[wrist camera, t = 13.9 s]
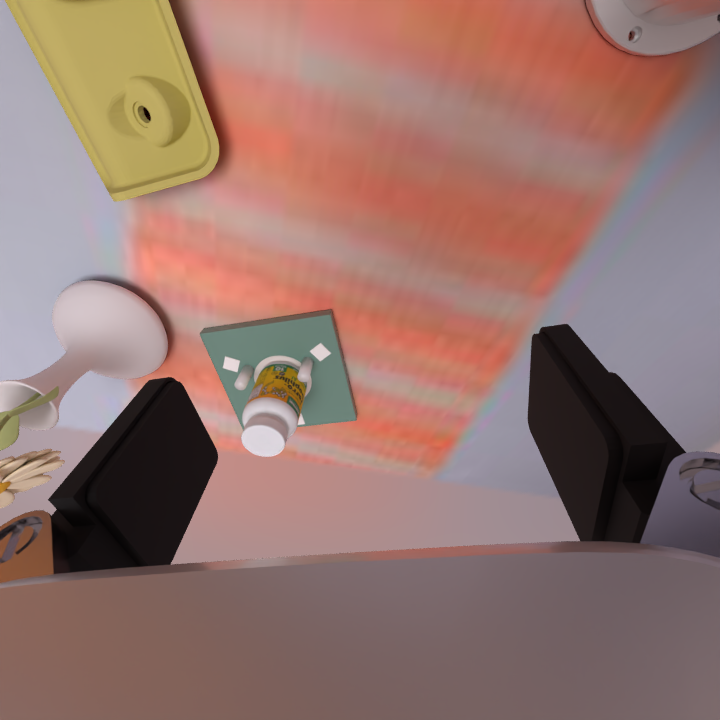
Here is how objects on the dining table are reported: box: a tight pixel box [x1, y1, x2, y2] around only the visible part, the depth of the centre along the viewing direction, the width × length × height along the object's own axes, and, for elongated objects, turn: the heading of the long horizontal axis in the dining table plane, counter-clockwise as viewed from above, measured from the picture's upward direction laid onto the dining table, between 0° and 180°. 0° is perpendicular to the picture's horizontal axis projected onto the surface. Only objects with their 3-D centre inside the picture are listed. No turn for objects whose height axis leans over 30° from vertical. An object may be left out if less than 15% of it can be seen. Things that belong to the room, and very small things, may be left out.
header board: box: [200, 309, 357, 430], centre depth 43 cm, size 14×14×4 cm
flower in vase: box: [0, 280, 168, 508], centre depth 32 cm, size 13×11×25 cm
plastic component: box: [5, 0, 219, 201], centre depth 28 cm, size 20×7×10 cm
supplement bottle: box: [241, 361, 307, 457], centre depth 40 cm, size 5×5×10 cm
